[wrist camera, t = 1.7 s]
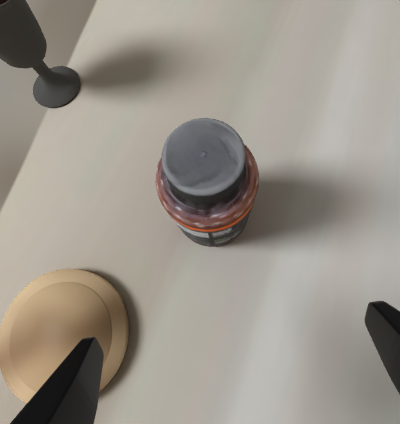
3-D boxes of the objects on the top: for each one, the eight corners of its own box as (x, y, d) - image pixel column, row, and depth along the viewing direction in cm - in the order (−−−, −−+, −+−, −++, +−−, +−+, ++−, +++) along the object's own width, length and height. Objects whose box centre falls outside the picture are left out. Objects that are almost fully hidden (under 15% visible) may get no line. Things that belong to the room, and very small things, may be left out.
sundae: (98, 98, 27) (-39, -110, 13) (35, 125, 27) (-175, -55, 13) (77, 51, 29) (-63, -179, 15) (19, 76, 29) (-184, -132, 14)
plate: (151, 356, 21) (148, 360, 20) (35, 434, 20) (25, 442, 19) (95, 247, 24) (89, 245, 22) (-10, 312, 23) (-22, 313, 22)
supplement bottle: (210, 168, 25) (202, 76, 14) (261, 211, 23) (298, 147, 12) (163, 215, 24) (115, 157, 13) (213, 263, 22) (206, 243, 12)
